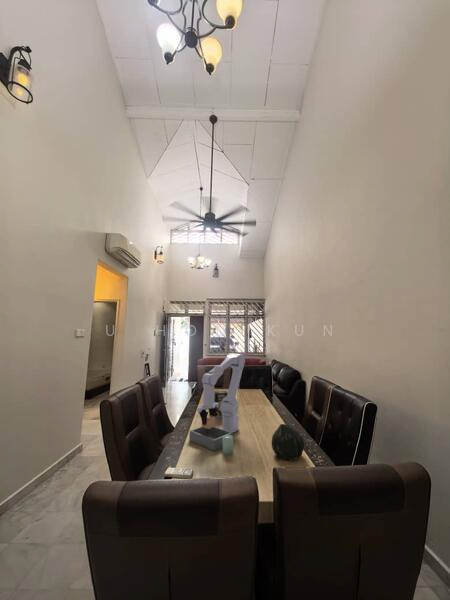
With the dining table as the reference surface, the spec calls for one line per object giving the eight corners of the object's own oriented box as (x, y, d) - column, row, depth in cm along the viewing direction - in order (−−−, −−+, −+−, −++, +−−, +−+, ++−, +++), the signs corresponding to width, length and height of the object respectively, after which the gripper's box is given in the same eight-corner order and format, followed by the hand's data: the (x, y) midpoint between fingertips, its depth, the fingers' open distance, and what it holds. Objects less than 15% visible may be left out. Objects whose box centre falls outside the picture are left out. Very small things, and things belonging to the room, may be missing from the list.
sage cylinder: (227, 449, 127) (227, 433, 128) (235, 452, 124) (235, 436, 125) (220, 452, 124) (220, 436, 125) (228, 455, 120) (228, 439, 121)
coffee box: (214, 418, 171) (215, 393, 173) (212, 415, 177) (212, 391, 179) (227, 418, 173) (228, 392, 175) (225, 414, 179) (225, 390, 181)
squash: (314, 445, 121) (294, 415, 128) (300, 458, 110) (278, 424, 117) (294, 459, 127) (275, 429, 135) (278, 472, 116) (259, 439, 123)
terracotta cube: (208, 424, 141) (208, 414, 142) (215, 426, 138) (215, 416, 139) (201, 426, 138) (202, 416, 138) (208, 429, 134) (208, 418, 135)
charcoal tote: (189, 440, 136) (189, 430, 136) (207, 433, 146) (207, 424, 147) (214, 451, 124) (214, 440, 125) (232, 442, 135) (232, 432, 135)
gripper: (204, 400, 132) (203, 428, 130) (223, 395, 143) (222, 421, 141) (194, 398, 136) (193, 425, 135) (213, 393, 147) (212, 418, 146)
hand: (207, 423), depth 138 cm, fingers closed on terracotta cube, 5 cm apart
